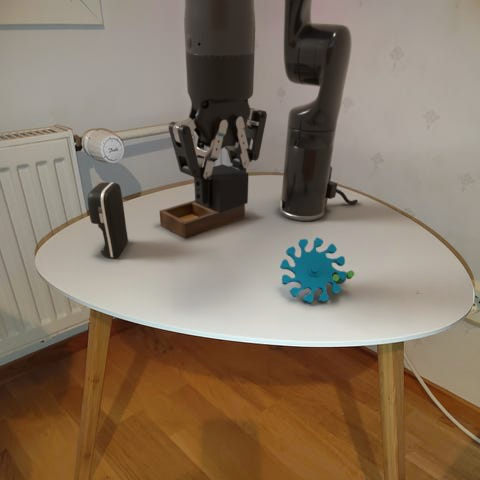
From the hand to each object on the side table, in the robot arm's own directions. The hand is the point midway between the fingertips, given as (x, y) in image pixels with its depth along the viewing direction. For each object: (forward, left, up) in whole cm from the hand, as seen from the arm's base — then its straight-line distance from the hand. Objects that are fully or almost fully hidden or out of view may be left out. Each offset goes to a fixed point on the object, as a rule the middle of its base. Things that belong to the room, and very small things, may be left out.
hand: (221, 199), depth 56 cm
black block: (0, 0, 0) cm, 0 cm away
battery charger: (+6, -23, -15) cm, 28 cm away
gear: (-11, +9, -15) cm, 20 cm away
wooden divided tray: (-14, -22, -14) cm, 30 cm away
